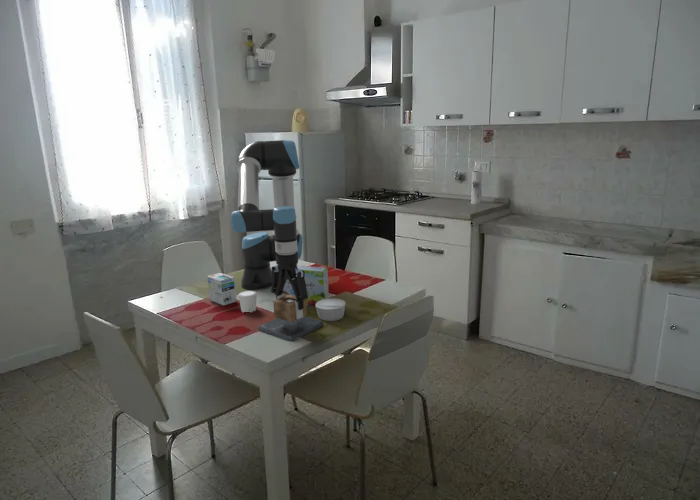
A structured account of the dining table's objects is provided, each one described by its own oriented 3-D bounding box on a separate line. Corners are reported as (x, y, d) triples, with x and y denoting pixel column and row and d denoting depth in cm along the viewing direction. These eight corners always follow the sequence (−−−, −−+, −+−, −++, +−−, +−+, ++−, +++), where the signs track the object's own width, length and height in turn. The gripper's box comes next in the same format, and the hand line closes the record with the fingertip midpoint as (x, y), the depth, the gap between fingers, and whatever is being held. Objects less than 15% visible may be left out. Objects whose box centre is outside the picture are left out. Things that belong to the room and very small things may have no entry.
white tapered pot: (242, 314, 182) (240, 297, 181) (237, 309, 188) (236, 292, 186) (259, 311, 185) (258, 294, 184) (254, 305, 191) (253, 289, 189)
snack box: (275, 302, 194) (273, 267, 190) (282, 298, 199) (279, 263, 196) (324, 307, 188) (323, 270, 184) (329, 302, 193) (328, 266, 189)
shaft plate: (258, 330, 168) (256, 303, 165) (290, 315, 180) (289, 290, 177) (291, 341, 158) (290, 313, 156) (323, 325, 170) (322, 298, 168)
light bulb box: (237, 301, 196) (235, 276, 194) (223, 306, 192) (220, 280, 189) (223, 296, 204) (220, 271, 201) (209, 300, 199) (206, 275, 196)
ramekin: (322, 324, 171) (321, 310, 170) (311, 314, 181) (311, 301, 180) (350, 319, 175) (350, 305, 174) (339, 309, 185) (338, 296, 184)
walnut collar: (274, 317, 167) (273, 300, 166) (290, 310, 173) (289, 294, 172) (290, 322, 162) (289, 305, 161) (306, 314, 168) (305, 298, 167)
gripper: (257, 250, 166) (262, 312, 171) (301, 259, 153) (305, 325, 159) (273, 246, 171) (277, 306, 177) (317, 254, 159) (319, 318, 164)
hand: (290, 315), depth 168 cm, fingers closed on walnut collar, 8 cm apart
